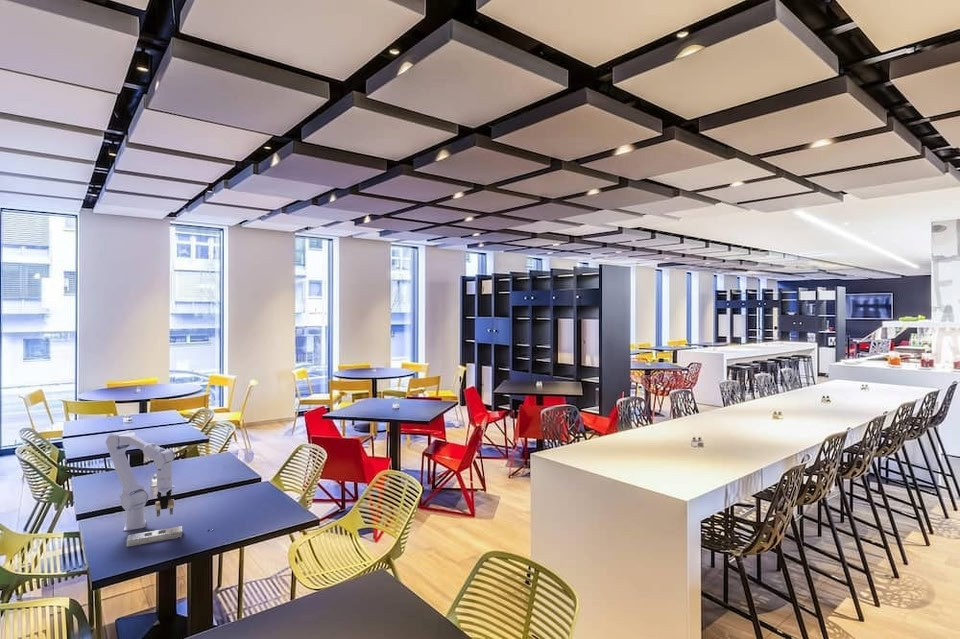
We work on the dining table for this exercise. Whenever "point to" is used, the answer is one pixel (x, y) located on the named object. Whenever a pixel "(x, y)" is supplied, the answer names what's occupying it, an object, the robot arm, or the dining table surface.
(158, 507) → the clip
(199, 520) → the dining table surface
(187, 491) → the dining table surface
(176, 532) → the grey plate with holes
